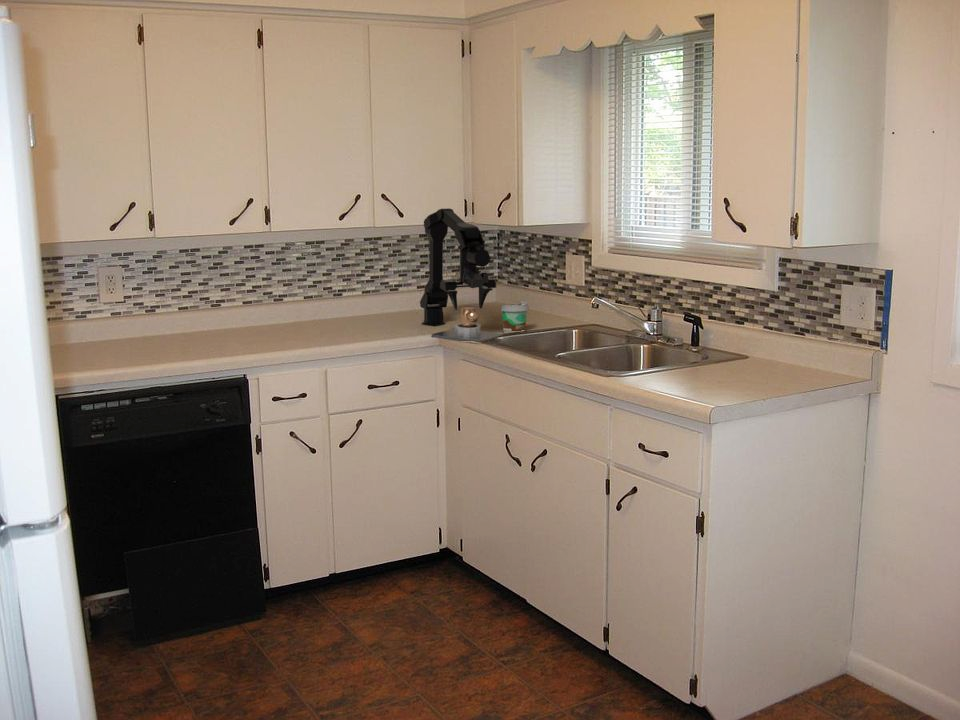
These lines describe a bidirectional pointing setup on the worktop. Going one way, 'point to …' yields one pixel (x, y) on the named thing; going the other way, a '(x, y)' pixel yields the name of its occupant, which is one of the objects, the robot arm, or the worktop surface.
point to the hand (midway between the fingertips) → (468, 309)
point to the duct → (466, 334)
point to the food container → (514, 316)
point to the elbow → (468, 317)
